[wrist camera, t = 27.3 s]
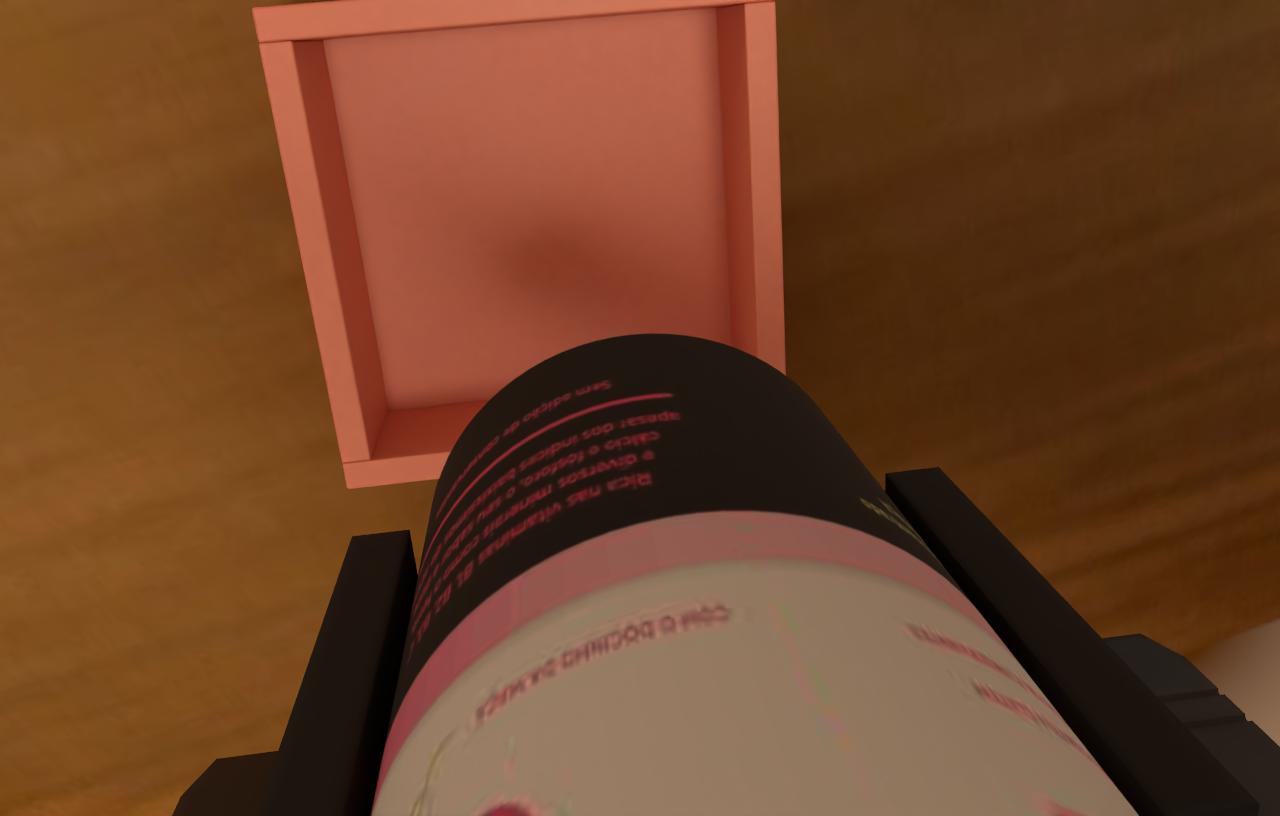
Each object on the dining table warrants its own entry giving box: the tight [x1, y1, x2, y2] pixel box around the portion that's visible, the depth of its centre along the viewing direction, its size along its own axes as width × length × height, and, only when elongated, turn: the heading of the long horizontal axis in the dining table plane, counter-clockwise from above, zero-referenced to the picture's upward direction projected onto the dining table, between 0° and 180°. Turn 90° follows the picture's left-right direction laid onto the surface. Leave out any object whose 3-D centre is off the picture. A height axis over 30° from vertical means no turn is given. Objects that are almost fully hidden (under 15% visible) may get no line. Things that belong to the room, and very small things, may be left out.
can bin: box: [252, 0, 786, 489], centre depth 28 cm, size 13×13×4 cm
